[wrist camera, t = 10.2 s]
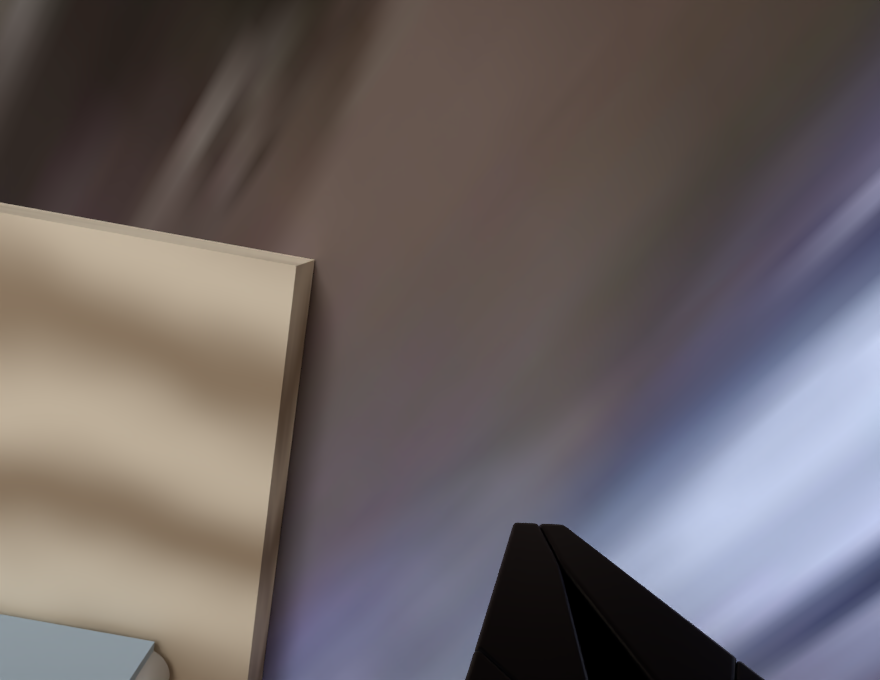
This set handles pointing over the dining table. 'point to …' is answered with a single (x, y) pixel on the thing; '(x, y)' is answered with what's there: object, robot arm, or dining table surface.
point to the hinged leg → (73, 653)
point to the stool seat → (146, 433)
